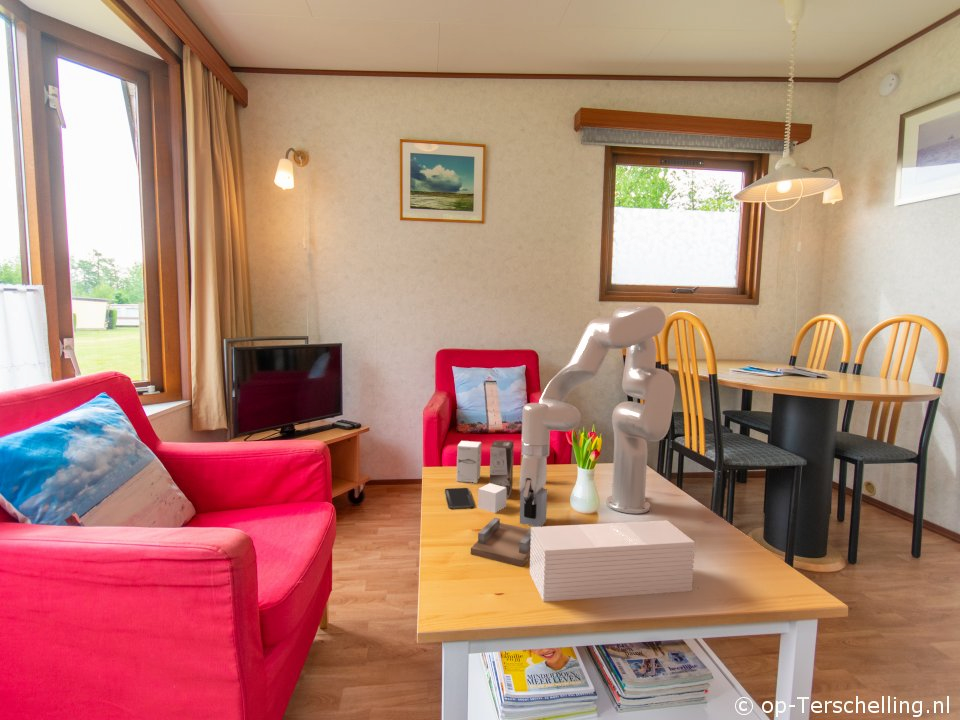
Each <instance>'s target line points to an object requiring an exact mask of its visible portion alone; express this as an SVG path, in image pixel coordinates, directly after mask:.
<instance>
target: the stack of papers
mask: <svg viewBox="0 0 960 720" xmlns="http://www.w3.org/2000/svg"><path fill="white" fill-rule="evenodd" d="M530 529H531V541H530V544H531V545H530V548H531V549H530V557H529V575H530V577H531V579H532V582H533V583H534V585H535V587H536V589H537V591H538V593H539V596H540V598H541V600H542V601H543V602H544V601H545V602H556V601H559V602H560V601H567V600H569V601H570V600H572V601H573V600H584V599H600V598H610V597H622V596H623V597H625V596H636V595H637V596H639V595H649V594H651V595H653V594H665V593H678V592H690V591H691V590H692V591H693V581H694V579H693V578H694V574H693V573H694V564H695V563H694V562H695V545H696V541H694V540H693V539H692V538H690V537H689V536H688V535H687V534H685V533H684V532H683V531H681V530H680V529H679V528H677V527H676V526H675V525H674V524H672V523H671V522H670V521H668V520H667V519H665V520H649V521H647V520H646V521H630V522H607V523H587V524H585V523H584V524H570V525H569V524H567V525H547V526H544V525H542V527H532V526H530ZM692 591H691V592H692Z"/></svg>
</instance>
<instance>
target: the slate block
mask: <svg viewBox="0 0 960 720" xmlns="http://www.w3.org/2000/svg"><path fill="white" fill-rule="evenodd" d="M530 492H533V490H530ZM519 493H520V495H519V496H520V497H519V498H520V499H519V501H520V502H519V524H521V523H523V525H526V524H528V525H527V526H531V525H533V526H537V527H541V526H542V527H543V526H544V524H545V523H546V522H547V507H548V506H547V505H548V504H547V503H548V488H545V487H543V488H542V489H541V490H540V491H539V492H538V493H536V499H535V504H536V518H535V519H532V518H527V517H524V498H523V494H524V491H523V492H519ZM530 497H532V498H533V495H530ZM544 522H545V523H544Z"/></svg>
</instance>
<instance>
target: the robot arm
mask: <svg viewBox="0 0 960 720" xmlns="http://www.w3.org/2000/svg"><path fill="white" fill-rule="evenodd" d="M665 326H666V314H665V312H664V311H663V310H662V309H661V308H660V307H658V306H657V305H652V304H648V305H646V304H645V305H623V306H620V307H618V308H616V309H614V311H613V313H612V317H597V318H594V319H592V320H590V321H589V322H588V324H587V325H586V326H585V329H584V331H583V332H582V335H581V337H580V339H579V341H578V343H577V346H576V347H575V349H574V351H573V353H572V356H571V358H570V360H569V361H568V363H567V364H566V365H565V366H564V367H562V368H561V369H560V371H558V373H557V374H555V375H554V376H553V377H552V379H551V380H550V381H549V382H548V383H547V385H546V387H545V388H544V390H543V392H542V394H541V396H540V398H539V401H538V402H530V403H529V402H528V403H526V404H524V405H523V407H522V412H521V413H522V414H521V415H522V417H521V446H520V447H521V450H520V451H521V452H520V453H521V454H522V455H523V457H522V463H521V462H520V474H519V485H518V486H519V488H518V489H519V493H521V492H523V491H524V494H523V498H524V517H527V518H532V519H535V518H536V504H535V499H536V493H538V492H539V491H540V490H541V489H542V488H545V487H544V486H545V485H546V484H547V476H548V475H547V473H548V472H547V470H548V468H547V462H548V461H547V458H548V457H549V456H550V437H551V436H550V434H551V431H557V432H559V431H560V432H570V431H574V429H576V428H577V427H578V426H579V425H580V423H581V418H582V417H581V413H580V411H579V409H578V408H577V406H574V405H573V404H570V403H567V402H565V400H566V398H567V397H568V395H569V394H570V393H571V391H573V389H575V388H577V387H578V386H580V385H582V384H584V383H587V382H589V381H591V380H594V379H595V378H596V377H597V376H598V374H599V372H600V369H601V368H602V365H603V364H604V363H605V360H606V357H607V355H608V353H609V352H610V350H624V349H626V351H625V361H624V367H623V375H622V382H621V383H622V384H621V387H622V388H621V389H622V390H623V392H624V394H626V396H629V397H631V398H635V399H640V400H644V403H640V402H636V401H630V400H629V401H622V402H620V403H619V404H617V405H616V406H615V407H614V409H613V411H612V415H611V423H612V429H613V430H612V431H613V438H614V439H613V440H614V442H613V444H614V445H613V467H612V468H613V469H612V485H611V486H612V488H611V489H612V490H611V492H612V493H611V495H610V496H608V497H607V498H606V505H607V506H608V507H609V508H610V509H612V510H615V511H618V512H620V513H625V514H632V515H633V514H636V515H637V514H639V515H640V514H644V513H647V512H649V511H650V510H651V504H650V503H649V501H647V500H646V486H647V467H648V465H647V464H648V444H647V441H650V442H659V441H661V440H663V439H664V438H665V437H666V435H668V431H669V430H670V427H671V422H672V416H673V410H674V409H673V408H674V402H675V401H674V400H675V397H676V383H675V380H674V377H673V376H672V374H671V373H670V372H669V371H667V370H666V369H662V368H658V367H656V363H657V361H656V360H657V344H656V341H655V339H654V337H656V336H658V335H659V334H660V333H661V332H662V331H663V330H664V328H665ZM521 454H520V455H521ZM530 490H533V492H530ZM530 495H533V498H532V497H530Z"/></svg>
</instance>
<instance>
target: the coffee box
mask: <svg viewBox="0 0 960 720" xmlns="http://www.w3.org/2000/svg"><path fill="white" fill-rule="evenodd" d="M489 453H490V454H489V455H490V458H489V459H490V460H489V461H490V462H489V483H491V484H495V485H499V486H503V487H506V500H507V499H508V500H509V498H510V495H511V494H512V490H513V481H514V480H513V479H514V478H513V476H514V475H513V471H514V470H513V469H514V441H513V440H494V441H493V443H492V444H491V446H490V452H489Z"/></svg>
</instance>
